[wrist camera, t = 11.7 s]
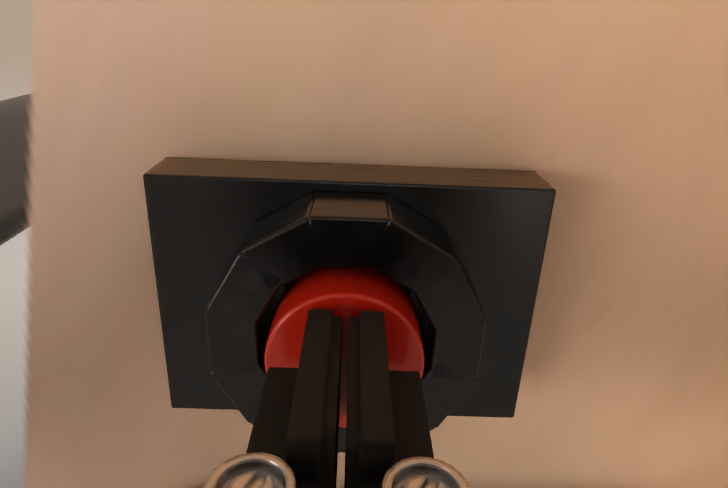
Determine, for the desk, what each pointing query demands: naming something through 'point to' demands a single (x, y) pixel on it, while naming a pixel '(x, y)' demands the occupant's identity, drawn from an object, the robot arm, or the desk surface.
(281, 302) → the button
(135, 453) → the desk surface
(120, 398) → the desk surface
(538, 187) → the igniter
